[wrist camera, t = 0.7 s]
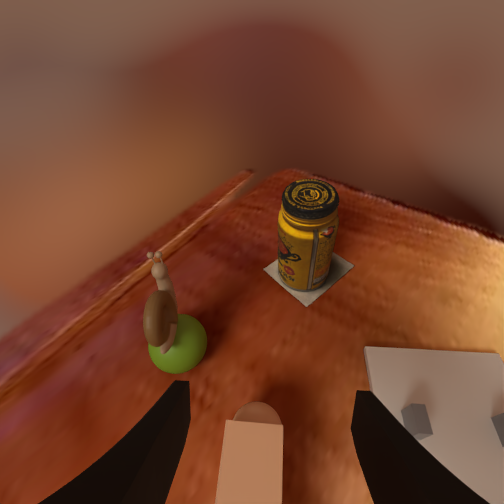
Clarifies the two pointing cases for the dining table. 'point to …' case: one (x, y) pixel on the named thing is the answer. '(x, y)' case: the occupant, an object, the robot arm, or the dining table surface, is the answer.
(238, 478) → the block
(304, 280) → the condiment
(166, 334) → the snail figurine
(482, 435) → the cradle jig
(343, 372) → the dining table surface
